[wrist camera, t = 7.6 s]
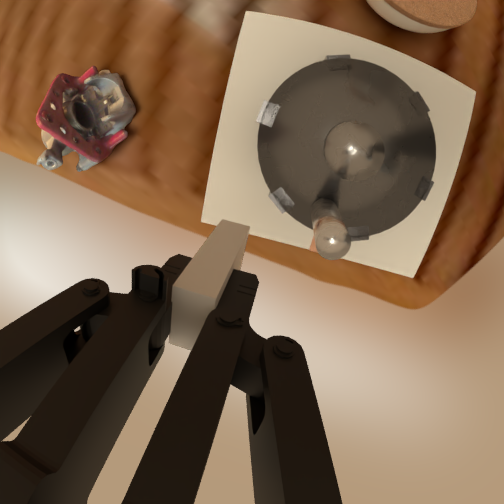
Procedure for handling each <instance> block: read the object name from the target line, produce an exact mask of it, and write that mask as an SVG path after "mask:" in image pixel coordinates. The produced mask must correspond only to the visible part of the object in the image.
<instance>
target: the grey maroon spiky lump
mask: <svg viewBox="0 0 504 504" xmlns="http://www.w3.org/2000/svg"><path fill="white" fill-rule="evenodd" d="M55 94H56V95H55ZM50 103H52V104H51V105H50ZM135 113H136V108H135V105H134V103H133V101H132V99H131V98H130V96H129V94H128V93H127V91H126V90H125V87H124V85H123V81H122V79H121V77H120V76H119V75H118V74H117V73H114V74H111V73H110V71H109V70H102V71H100V72H99V73H98V70H97V68H96V67H95V66H92V67H91V68H89V69H88V70H87V71H86V72H85V73H84V74H83V75H82V76H81V77H74V76H70V75H67V74H63V73H62V74H59V75H57V76H56V78H55V79H54V80H53V82H52V84H51V85H50V88H49V90H48V92H47V94H46V96H45V98H44V100H43V102H42V103H41V106H40V108H39V110H38V113H37V116H36V122H37V124H38V126H39V127H40V128H41V129H42V132H41V135H42V140H43V142H44V144H45V146H46V147H47V150H45V151H44V152H43V153H42V154H41V156H40V157H39V158H38V160H37V165H39V164H42V166H43V167H44V168H46V169H47V170H53V169H56V168H58V167H60V166H61V165H62V164H63V160H62V156H64V155H67V154H69V153H70V152H71V151H75V152H77V153H78V154H79V158H80V160H79V163H78V164H77V167H76V168H77V171H83V170H88V169H89V168H91V167H92V166H94V165H96V164H98V163H99V162H102V161H103V160H104V159H105V158H106V157H108V156H109V155H110V154H111V152H112V150H113V148H114V147H115V146H116V145H117V144H118V143H120V142H121V141H123V140H124V139H126V138H127V136H128V133H127V131H125V130H124V128H125V126H126V125H127V124H128V123H130V122H131V121H132V118H133V115H134V114H135Z"/></svg>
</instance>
